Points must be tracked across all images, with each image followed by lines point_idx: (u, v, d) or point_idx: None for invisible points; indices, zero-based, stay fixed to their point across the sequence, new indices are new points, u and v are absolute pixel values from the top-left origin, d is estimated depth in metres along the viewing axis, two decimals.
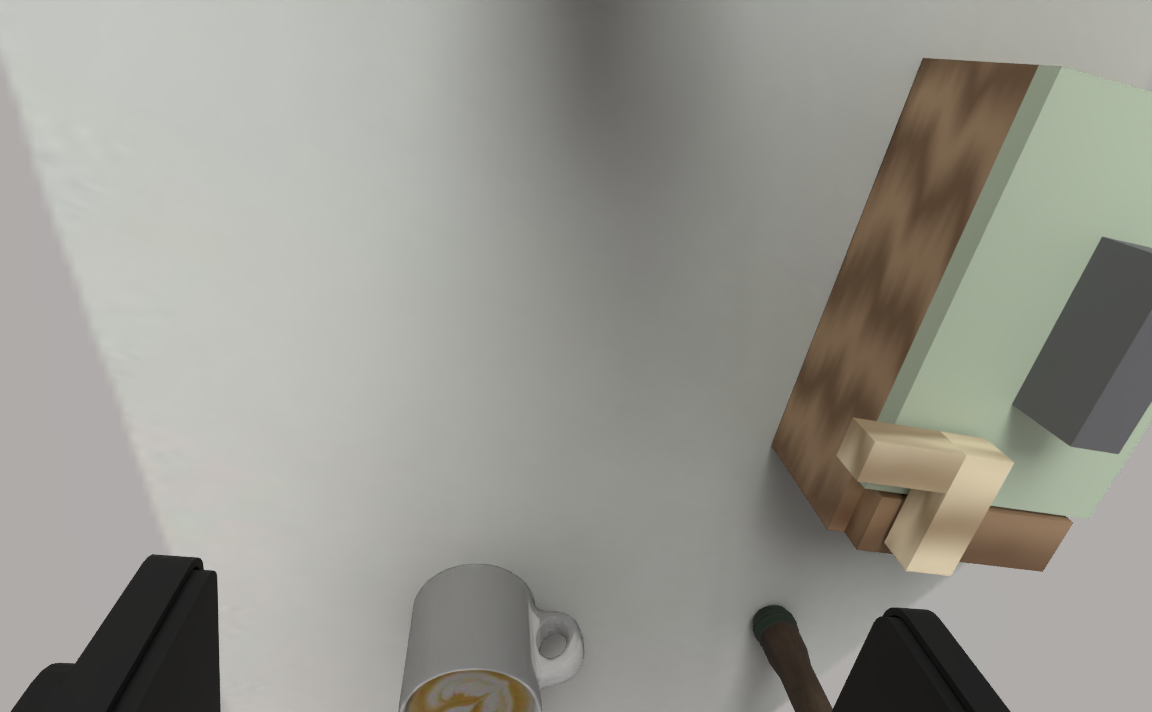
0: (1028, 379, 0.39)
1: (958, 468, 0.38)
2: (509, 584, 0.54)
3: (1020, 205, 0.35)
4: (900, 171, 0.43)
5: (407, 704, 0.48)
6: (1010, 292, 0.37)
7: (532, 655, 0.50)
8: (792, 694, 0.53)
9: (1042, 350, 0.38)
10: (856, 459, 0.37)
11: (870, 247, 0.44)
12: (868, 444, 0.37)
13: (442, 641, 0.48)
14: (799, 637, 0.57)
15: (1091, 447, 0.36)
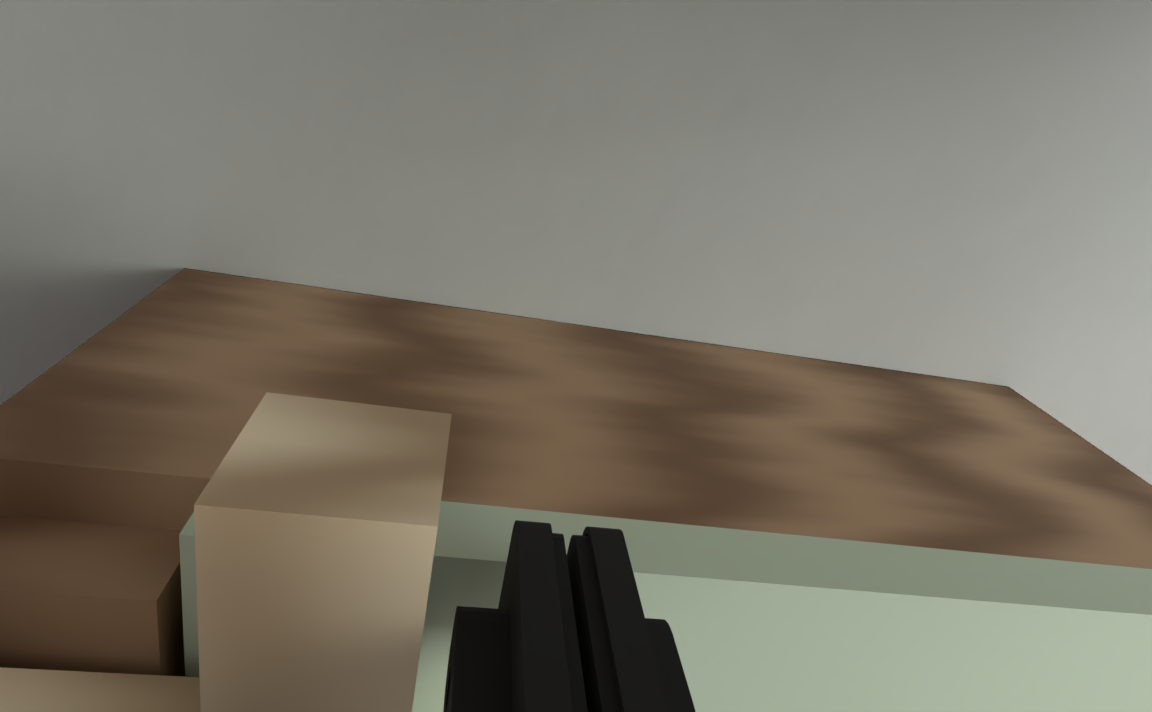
0: None
1: None
2: None
3: (1088, 657, 0.14)
4: (880, 395, 0.22)
5: None
6: (868, 707, 0.14)
7: None
8: None
9: None
10: (301, 471, 0.08)
11: (737, 376, 0.21)
12: (401, 502, 0.08)
13: None
14: None
15: None
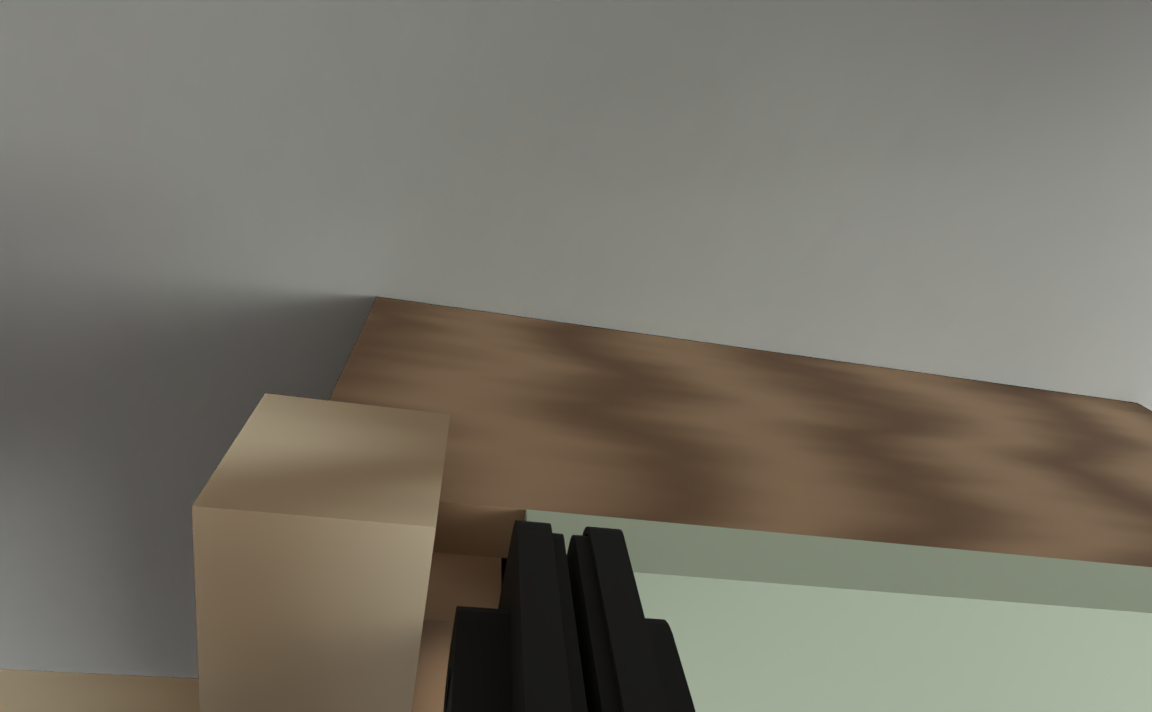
0: None
1: None
2: None
3: None
4: (1032, 414, 0.23)
5: None
6: None
7: None
8: None
9: None
10: (299, 472, 0.08)
11: (901, 397, 0.22)
12: (400, 502, 0.08)
13: None
14: None
15: None
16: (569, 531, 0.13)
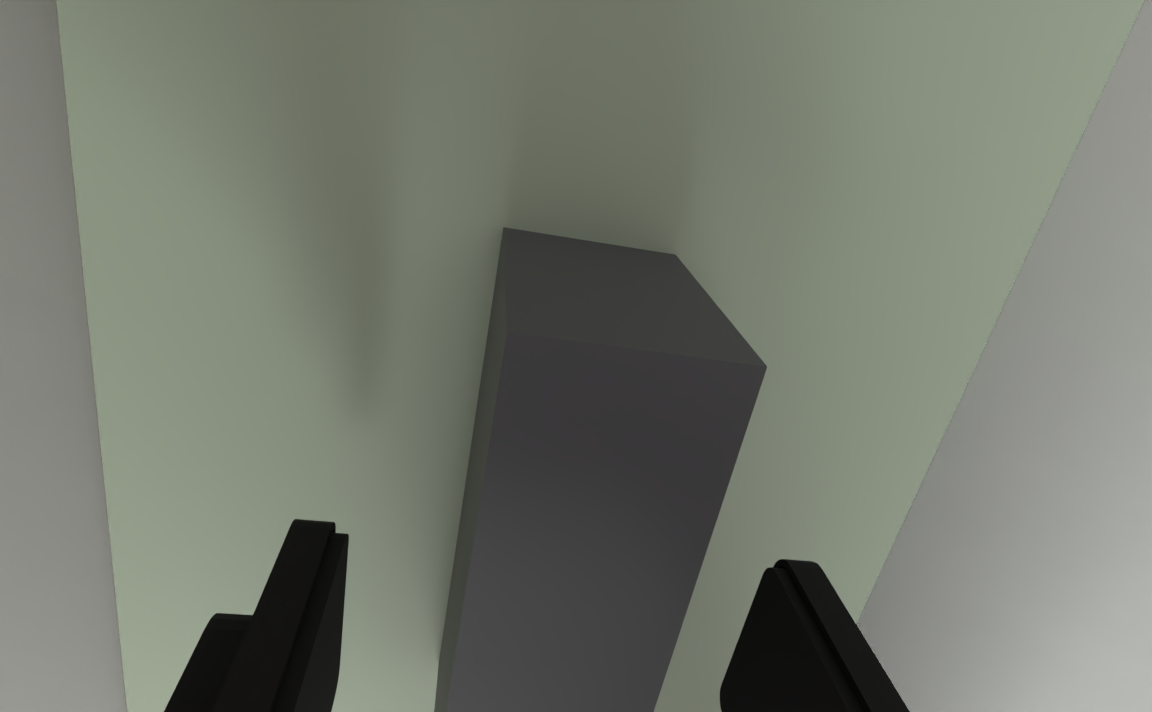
0: None
1: None
2: None
3: None
4: None
5: None
6: (759, 554, 0.15)
7: None
8: None
9: None
10: None
11: None
12: None
13: None
14: None
15: (665, 365, 0.08)
16: None
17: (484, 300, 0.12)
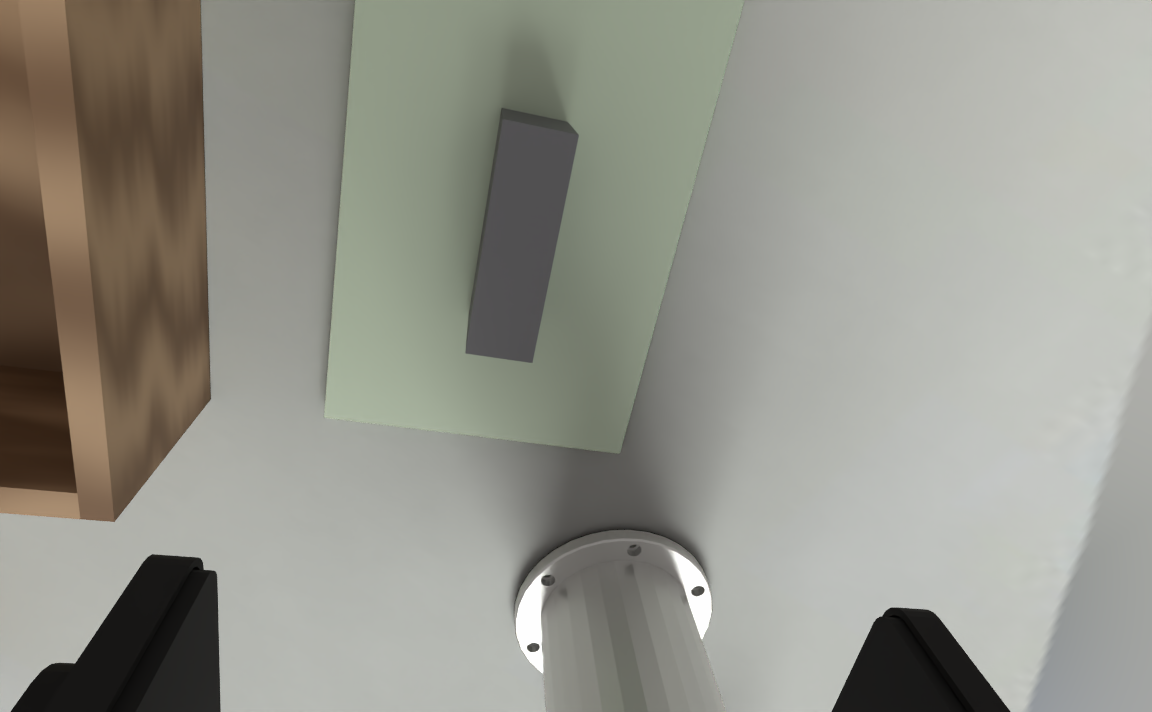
0: None
1: None
2: None
3: (624, 350, 0.36)
4: (187, 297, 0.31)
5: None
6: (611, 266, 0.34)
7: None
8: None
9: None
10: None
11: (183, 190, 0.29)
12: None
13: None
14: None
15: (548, 132, 0.27)
16: None
17: (493, 137, 0.31)
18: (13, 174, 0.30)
